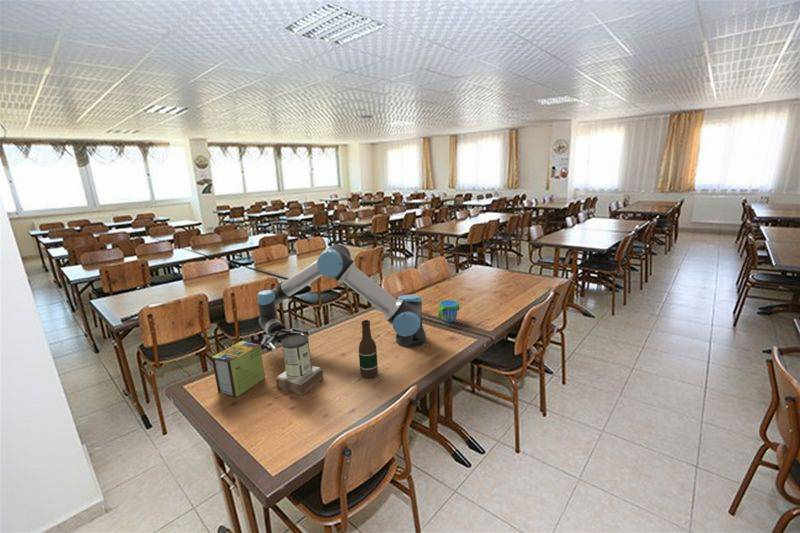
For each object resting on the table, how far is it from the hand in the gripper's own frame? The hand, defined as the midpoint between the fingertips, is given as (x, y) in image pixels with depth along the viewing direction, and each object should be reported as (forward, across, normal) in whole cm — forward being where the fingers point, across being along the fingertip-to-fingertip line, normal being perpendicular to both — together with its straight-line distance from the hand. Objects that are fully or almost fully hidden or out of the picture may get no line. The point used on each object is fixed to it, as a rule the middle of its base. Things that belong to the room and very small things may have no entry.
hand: (291, 346), depth 152 cm
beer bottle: (+17, -25, -14) cm, 34 cm away
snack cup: (-4, -89, -14) cm, 91 cm away
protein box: (-9, +19, -15) cm, 26 cm away
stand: (+5, 0, -14) cm, 15 cm away
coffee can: (+5, 0, -10) cm, 11 cm away
